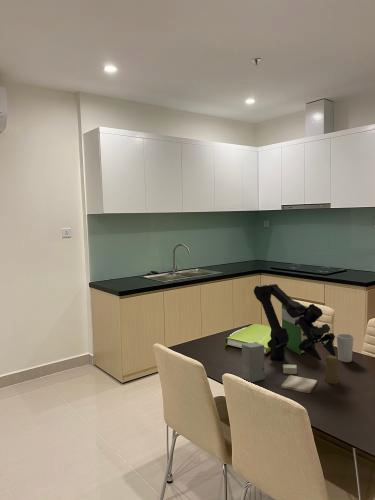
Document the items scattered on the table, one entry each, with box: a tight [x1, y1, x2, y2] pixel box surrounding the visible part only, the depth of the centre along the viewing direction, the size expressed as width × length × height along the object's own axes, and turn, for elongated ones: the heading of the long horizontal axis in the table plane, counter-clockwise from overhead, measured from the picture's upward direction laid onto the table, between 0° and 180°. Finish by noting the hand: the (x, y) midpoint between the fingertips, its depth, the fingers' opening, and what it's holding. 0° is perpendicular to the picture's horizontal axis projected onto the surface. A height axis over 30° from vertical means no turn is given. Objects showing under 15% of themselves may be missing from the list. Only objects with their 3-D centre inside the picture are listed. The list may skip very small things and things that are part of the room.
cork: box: [324, 355, 340, 384], centre depth 174 cm, size 6×6×11 cm
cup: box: [336, 333, 355, 363], centre depth 198 cm, size 8×8×12 cm
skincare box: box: [241, 341, 265, 383], centre depth 179 cm, size 8×7×16 cm
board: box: [280, 374, 318, 394], centre depth 171 cm, size 12×12×1 cm
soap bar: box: [282, 364, 298, 375], centre depth 185 cm, size 6×4×3 cm, turn 77°
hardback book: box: [281, 303, 309, 355], centre depth 216 cm, size 18×7×24 cm, turn 17°
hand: (327, 358), depth 176 cm, fingers open, 9 cm apart
